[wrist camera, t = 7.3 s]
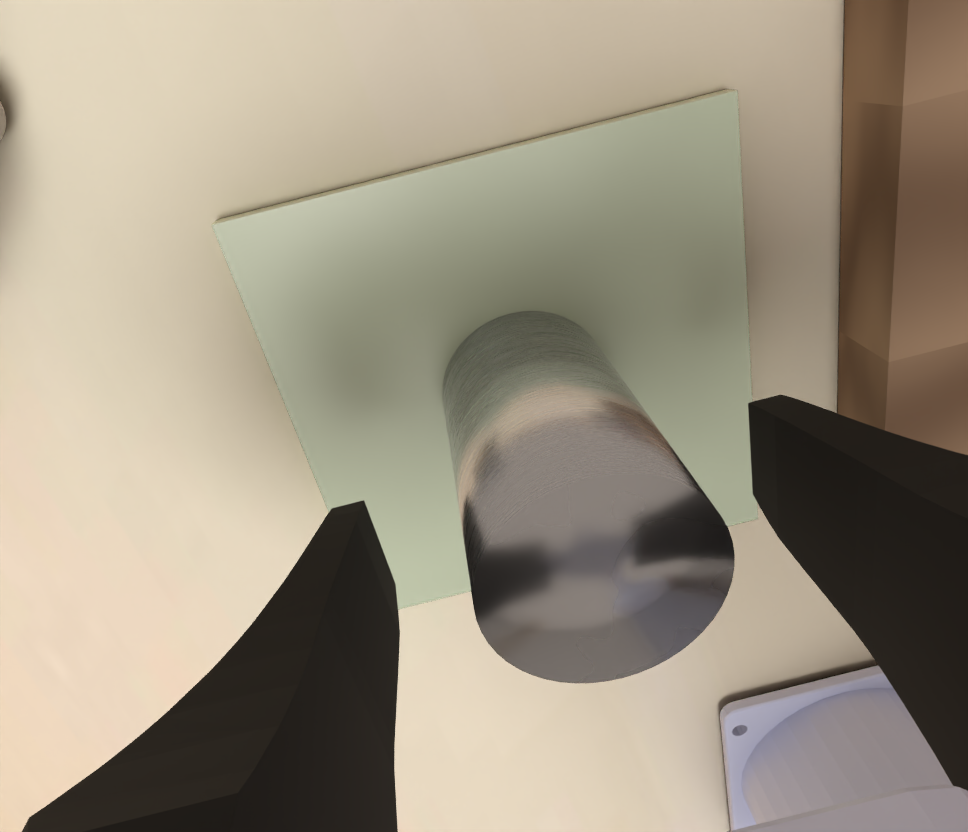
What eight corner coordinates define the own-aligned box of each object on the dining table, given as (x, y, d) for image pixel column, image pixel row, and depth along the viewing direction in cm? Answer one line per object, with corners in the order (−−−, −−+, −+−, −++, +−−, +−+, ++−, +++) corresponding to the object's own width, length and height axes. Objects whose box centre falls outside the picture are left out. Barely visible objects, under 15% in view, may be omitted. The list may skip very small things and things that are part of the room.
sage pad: (749, 508, 20) (758, 519, 19) (371, 603, 20) (371, 616, 19) (727, 88, 15) (737, 90, 14) (217, 219, 15) (211, 225, 14)
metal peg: (618, 440, 18) (740, 646, 11) (464, 480, 18) (504, 708, 11) (595, 291, 16) (726, 442, 10) (423, 335, 16) (443, 515, 10)
